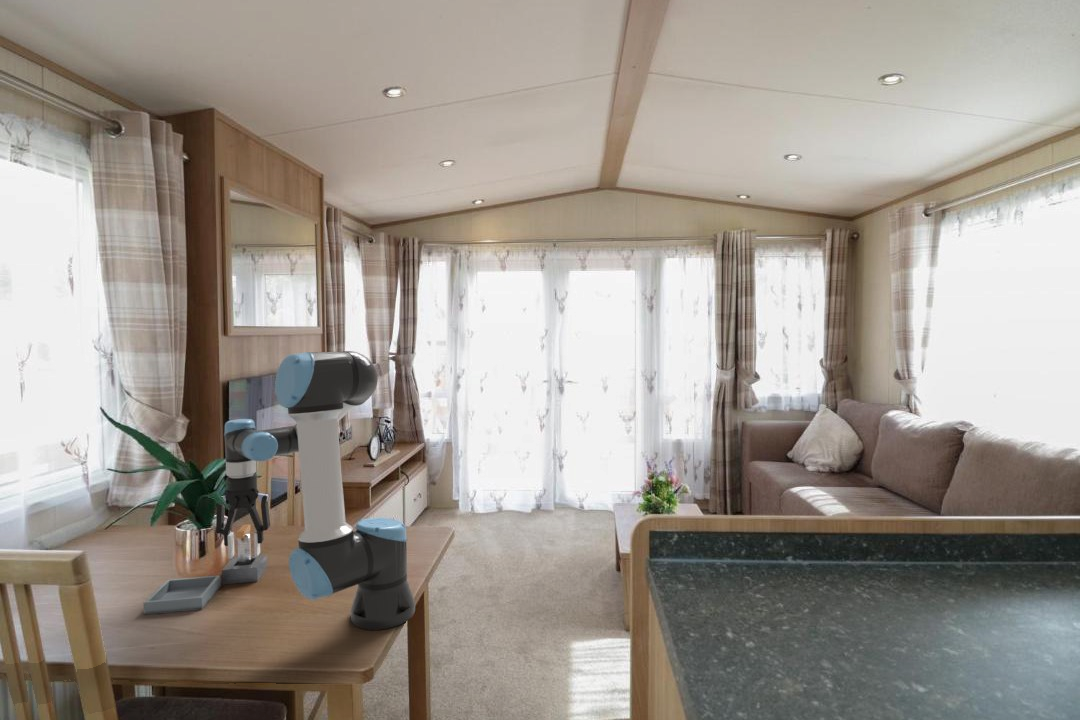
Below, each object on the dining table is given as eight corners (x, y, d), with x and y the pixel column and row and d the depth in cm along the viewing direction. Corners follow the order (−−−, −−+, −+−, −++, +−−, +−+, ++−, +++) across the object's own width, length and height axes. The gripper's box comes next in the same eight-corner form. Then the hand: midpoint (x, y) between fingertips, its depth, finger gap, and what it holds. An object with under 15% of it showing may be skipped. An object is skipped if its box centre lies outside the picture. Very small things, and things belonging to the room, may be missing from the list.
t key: (248, 579, 157) (246, 531, 156) (235, 581, 156) (233, 532, 156) (254, 570, 163) (252, 523, 162) (242, 571, 162) (240, 524, 162)
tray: (202, 609, 141) (201, 597, 141) (144, 614, 138) (143, 602, 138) (221, 585, 153) (220, 575, 153) (168, 590, 151) (167, 579, 151)
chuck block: (257, 581, 156) (257, 567, 156) (222, 584, 154) (221, 570, 154) (266, 567, 165) (266, 554, 165) (233, 570, 163) (232, 557, 163)
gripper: (281, 469, 164) (283, 547, 165) (209, 473, 160) (212, 553, 161) (274, 476, 156) (277, 557, 158) (198, 480, 153) (202, 563, 154)
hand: (244, 555), depth 159 cm, fingers open, 6 cm apart
